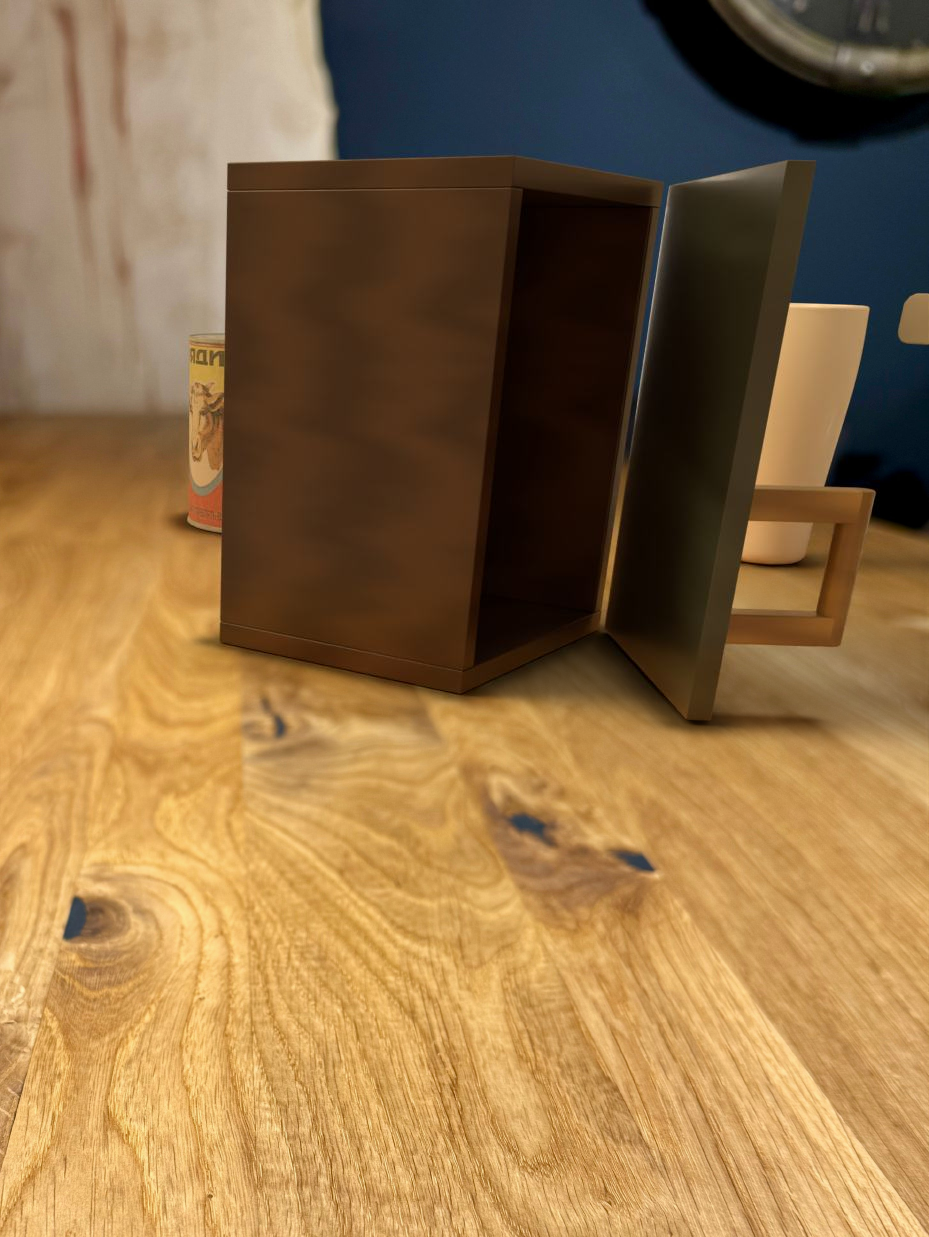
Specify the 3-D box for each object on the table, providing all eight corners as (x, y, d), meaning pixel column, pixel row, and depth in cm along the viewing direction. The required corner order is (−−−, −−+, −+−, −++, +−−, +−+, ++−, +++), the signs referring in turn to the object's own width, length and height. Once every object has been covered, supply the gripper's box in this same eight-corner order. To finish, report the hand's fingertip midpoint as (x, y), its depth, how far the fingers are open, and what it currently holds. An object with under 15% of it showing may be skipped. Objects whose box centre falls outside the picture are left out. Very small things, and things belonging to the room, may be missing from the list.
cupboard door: (724, 632, 66) (807, 188, 58) (837, 724, 53) (969, 164, 44) (603, 628, 66) (669, 184, 58) (686, 719, 53) (787, 159, 44)
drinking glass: (770, 546, 89) (818, 303, 82) (840, 566, 83) (897, 306, 77) (685, 550, 87) (728, 301, 80) (751, 570, 81) (802, 304, 75)
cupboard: (599, 629, 67) (664, 181, 58) (460, 694, 56) (515, 154, 47) (380, 591, 74) (409, 184, 65) (219, 642, 63) (226, 162, 54)
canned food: (158, 515, 94) (157, 333, 89) (287, 504, 100) (293, 332, 94) (243, 542, 86) (247, 342, 80) (379, 529, 91) (391, 341, 86)
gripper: (1362, 241, 52) (977, 238, 59) (1385, 217, 37) (865, 217, 44) (1301, 411, 54) (941, 388, 62) (1299, 454, 39) (823, 417, 47)
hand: (908, 317), depth 53 cm, fingers closed
